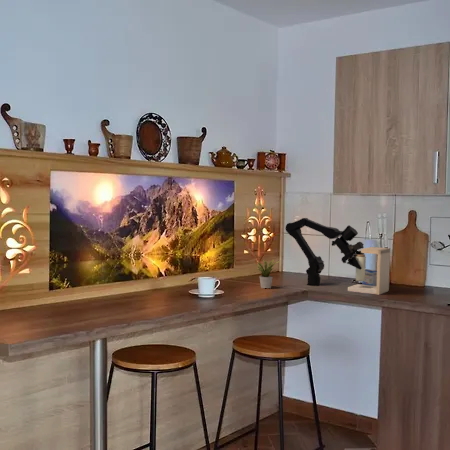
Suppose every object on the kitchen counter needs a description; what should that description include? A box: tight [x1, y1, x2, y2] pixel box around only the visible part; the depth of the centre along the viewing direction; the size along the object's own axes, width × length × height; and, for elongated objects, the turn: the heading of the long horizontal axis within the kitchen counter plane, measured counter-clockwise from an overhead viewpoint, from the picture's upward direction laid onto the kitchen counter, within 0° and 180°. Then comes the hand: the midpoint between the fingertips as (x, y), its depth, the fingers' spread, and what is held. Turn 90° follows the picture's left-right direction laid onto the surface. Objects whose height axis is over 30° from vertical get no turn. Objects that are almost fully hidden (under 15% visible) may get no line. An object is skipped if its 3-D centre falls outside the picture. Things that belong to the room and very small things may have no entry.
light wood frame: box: [347, 246, 391, 296], centre depth 350 cm, size 18×16×23 cm
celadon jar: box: [355, 253, 367, 282], centre depth 353 cm, size 5×5×14 cm
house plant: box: [256, 258, 278, 289], centre depth 353 cm, size 14×14×16 cm
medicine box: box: [361, 268, 377, 286], centre depth 373 cm, size 8×4×9 cm, turn 37°
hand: (363, 268), depth 352 cm, fingers closed on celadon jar, 5 cm apart
